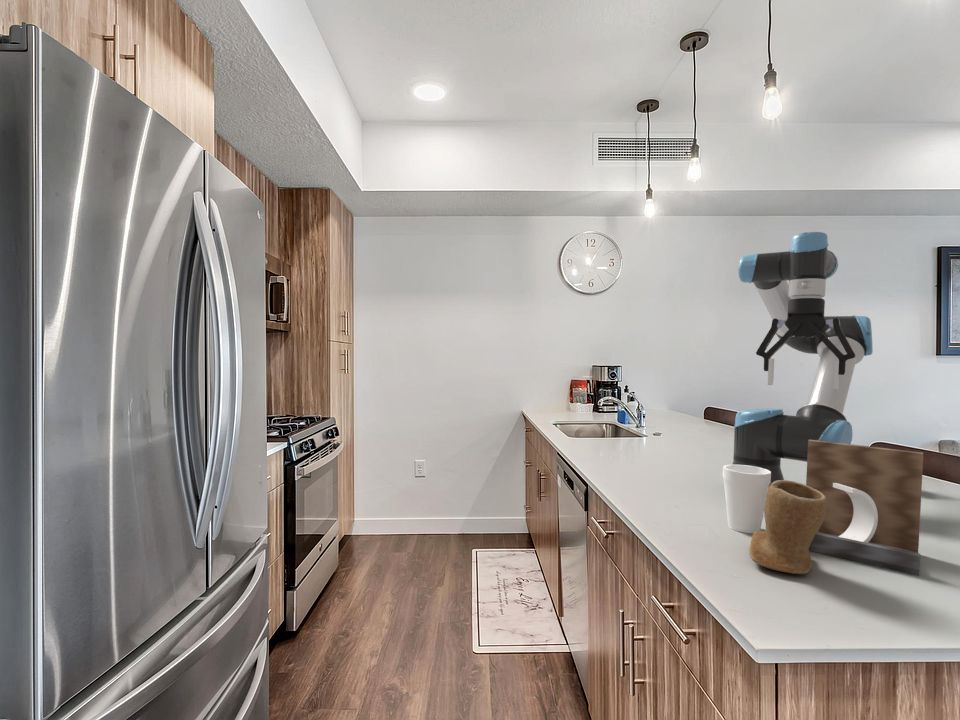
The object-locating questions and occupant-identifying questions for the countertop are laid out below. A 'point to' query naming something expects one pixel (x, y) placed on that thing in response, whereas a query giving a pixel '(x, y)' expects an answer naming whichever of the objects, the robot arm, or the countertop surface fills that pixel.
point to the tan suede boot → (788, 527)
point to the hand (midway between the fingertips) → (802, 387)
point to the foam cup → (745, 496)
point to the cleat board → (890, 487)
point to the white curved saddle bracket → (860, 515)
